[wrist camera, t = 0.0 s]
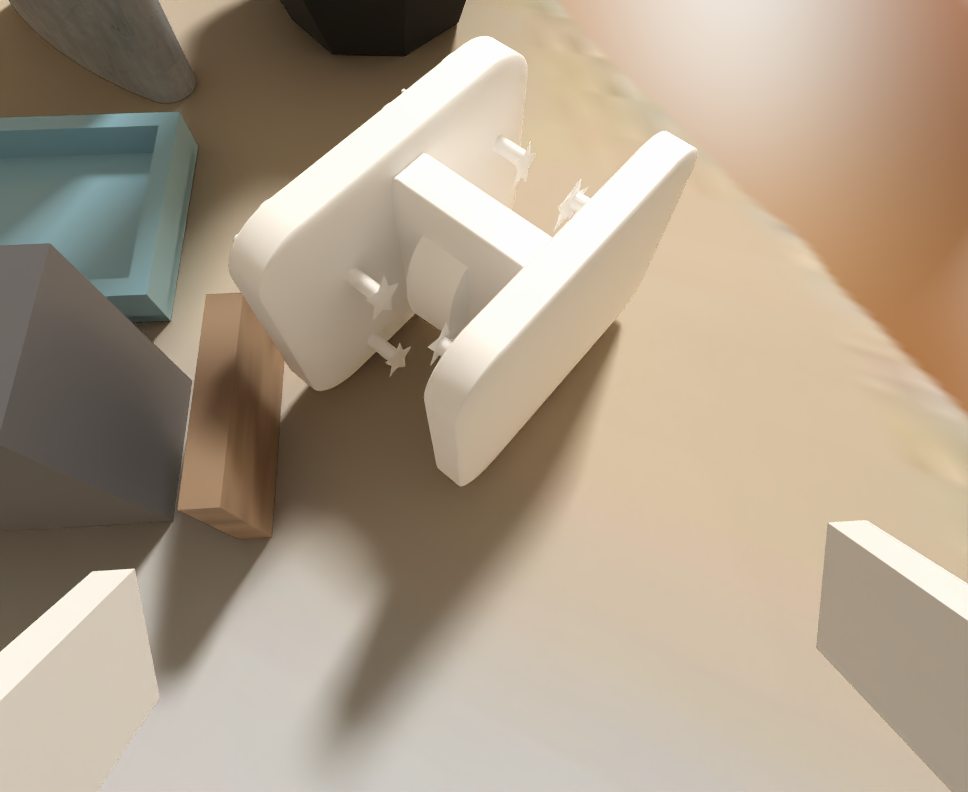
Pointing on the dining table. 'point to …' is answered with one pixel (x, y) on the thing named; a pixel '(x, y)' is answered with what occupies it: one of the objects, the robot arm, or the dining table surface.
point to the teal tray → (103, 199)
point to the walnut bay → (233, 422)
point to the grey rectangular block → (81, 403)
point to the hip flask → (116, 43)
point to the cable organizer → (452, 253)
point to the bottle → (374, 23)
